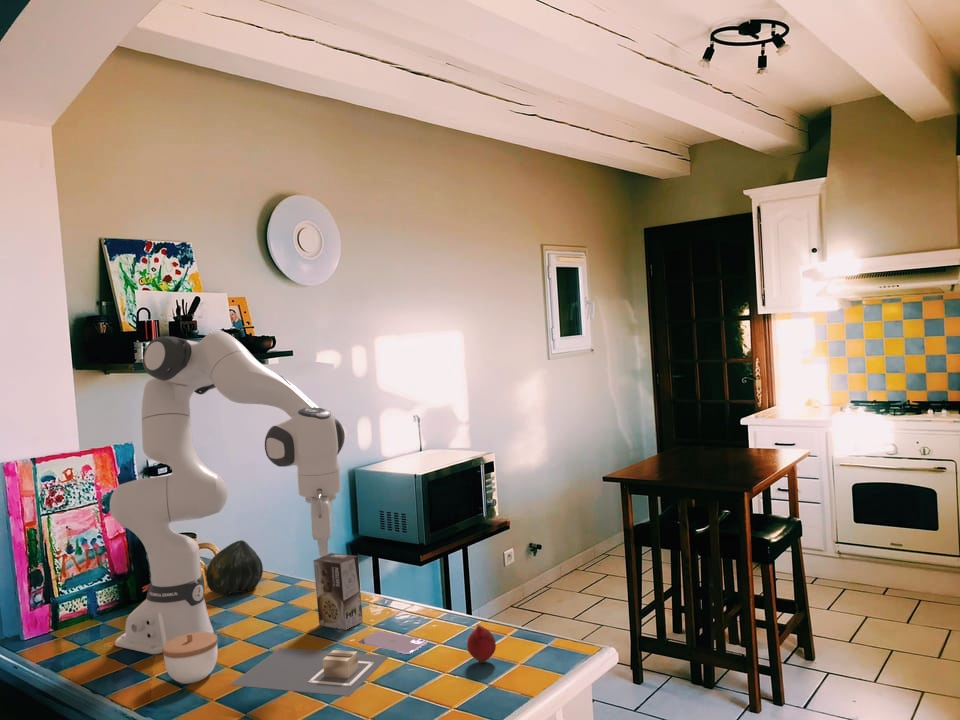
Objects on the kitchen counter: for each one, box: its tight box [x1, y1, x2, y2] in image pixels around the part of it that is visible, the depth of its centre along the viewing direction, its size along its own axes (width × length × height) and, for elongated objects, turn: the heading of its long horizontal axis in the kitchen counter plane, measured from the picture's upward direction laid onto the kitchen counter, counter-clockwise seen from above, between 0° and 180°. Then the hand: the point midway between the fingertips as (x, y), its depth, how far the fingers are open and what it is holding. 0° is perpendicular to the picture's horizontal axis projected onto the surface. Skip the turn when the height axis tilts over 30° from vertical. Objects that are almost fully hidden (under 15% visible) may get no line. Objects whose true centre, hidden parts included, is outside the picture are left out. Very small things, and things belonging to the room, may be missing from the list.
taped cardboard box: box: [323, 649, 359, 678], centre depth 153 cm, size 6×4×4 cm
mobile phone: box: [357, 630, 428, 655], centre depth 167 cm, size 8×1×15 cm
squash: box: [205, 539, 264, 596], centre depth 211 cm, size 14×15×15 cm
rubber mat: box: [229, 647, 390, 697], centre depth 155 cm, size 27×18×1 cm, turn 72°
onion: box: [466, 623, 497, 664], centre depth 154 cm, size 6×6×8 cm
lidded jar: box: [162, 632, 219, 685], centre depth 156 cm, size 11×11×9 cm
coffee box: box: [313, 552, 364, 631], centre depth 181 cm, size 9×6×16 cm
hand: (324, 547), depth 161 cm, fingers open, 8 cm apart
